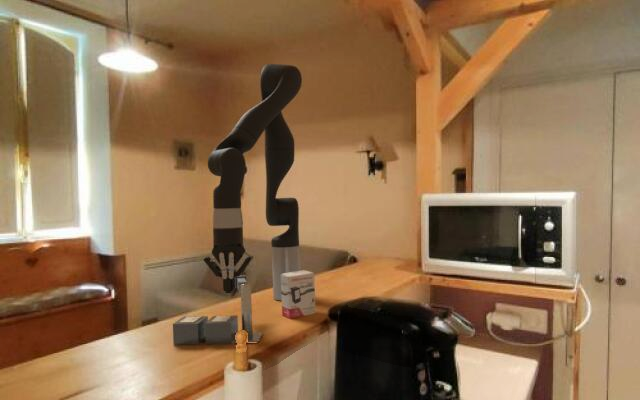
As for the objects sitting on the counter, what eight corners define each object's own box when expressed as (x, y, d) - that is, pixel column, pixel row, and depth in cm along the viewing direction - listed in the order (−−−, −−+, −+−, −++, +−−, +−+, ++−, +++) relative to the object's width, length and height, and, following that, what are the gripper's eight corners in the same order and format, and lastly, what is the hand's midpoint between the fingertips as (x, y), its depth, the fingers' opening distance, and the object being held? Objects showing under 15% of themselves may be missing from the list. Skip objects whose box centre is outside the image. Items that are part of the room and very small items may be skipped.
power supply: (214, 336, 99) (213, 315, 99) (238, 335, 99) (237, 314, 99) (205, 345, 93) (204, 322, 93) (231, 344, 93) (230, 321, 93)
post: (238, 335, 99) (236, 281, 99) (262, 334, 98) (260, 281, 98) (231, 344, 93) (229, 287, 93) (257, 343, 92) (255, 286, 92)
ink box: (290, 319, 111) (288, 276, 111) (281, 315, 115) (279, 273, 115) (316, 313, 115) (314, 271, 115) (307, 309, 119) (305, 269, 119)
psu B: (184, 336, 100) (184, 315, 100) (208, 336, 99) (207, 315, 99) (173, 345, 94) (172, 323, 94) (198, 345, 93) (197, 322, 93)
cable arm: (251, 298, 98) (250, 285, 98) (239, 300, 97) (239, 286, 97) (245, 286, 113) (245, 274, 113) (235, 287, 112) (234, 275, 112)
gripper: (197, 227, 102) (199, 296, 102) (249, 226, 101) (251, 295, 101) (207, 225, 109) (209, 289, 109) (256, 224, 109) (257, 289, 109)
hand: (229, 292), depth 105 cm, fingers closed
